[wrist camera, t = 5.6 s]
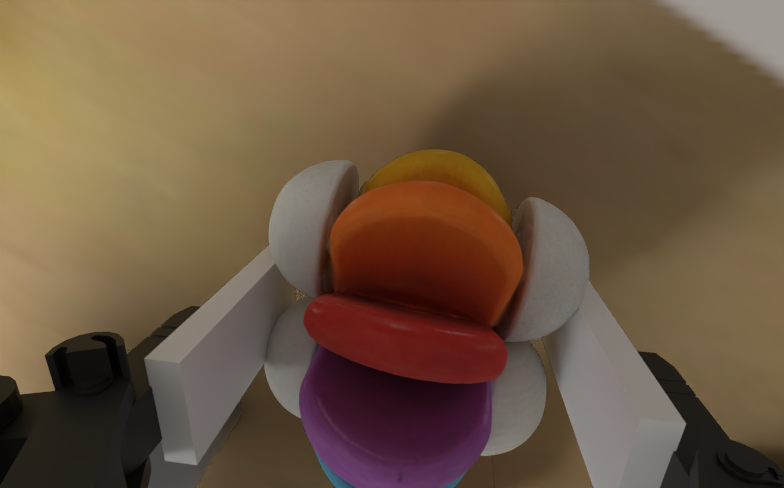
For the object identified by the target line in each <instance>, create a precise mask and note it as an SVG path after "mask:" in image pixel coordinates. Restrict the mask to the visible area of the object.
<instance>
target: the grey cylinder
mask: <svg viewBox="0 0 784 488" xmlns="http://www.w3.org/2000/svg"><path fill="white" fill-rule="evenodd" d="M240 414H241V402H240V401H239V402H238V404H237V405H236V407H235V408H234V410H233V412H232V413H231V415H230V416H229V418H228V419H227V421H226V422H225V424H224V425H223V427H222V428H221V430H220V431H219V433H218V434H217V436H216V437H215V439H214V440H213V442H212V443H211V445H210V446H209V448H208V449H207V451H206V453H205V454H204V456H203V457H202V459H201V460H200V462H199V463H198V465H191V464H184V463H178V462H171V461H165V458H164V453H163V449H162V444H161V441H160V443H159V444H158V445H157V446H156V448H155V449H154V450H153V451H152V453H151V454H150V455H149V457H150V462H151V475H150V480H149V484H148V488H195V487H196V486H197V484H198V483H199V481H200V480H201V478H202V476H203V475H204V473H205V472H206V470H207V469H208V467H209V465H210V464H211V462H212V461H213V459H214V458H215V456H216V455H217V453H218V451H219V450H220V448H221V447H222V445H223V444H224V442H225V440H226V439H227V437H228V436H229V434H230V433H231V431H232V429H233V428H234V426H235V425H236V423H237V422H238V420H239V418H240Z"/></svg>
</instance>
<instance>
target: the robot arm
mask: <svg viewBox="0 0 784 488" xmlns="http://www.w3.org/2000/svg"><path fill="white" fill-rule="evenodd" d="M294 303H296V293H295V287H294V286H292V285H291V284H290V283H289V282H288V281H287V280H286V278H285V277H284V276H283V275H282V274H281V272H280V270H279V269H278V267H277V265H276V263H275V261H274V259H273V256H272V253H271V250H270V245H268V246H267V247H266V248H265V249H264V250H263V251H262V252H261V253H260V254H258V255H257V256H256V257H255V258H254V259H253V260H252V261H251V262H250V263H249V264H248V265H246V266H245V267H244V268H243V269H242V270H241V271H240V272H239V273H238V274H237V275H235V276H234V277H233V278H232V279H231V280H230V281H229V282H228V283H227V284H226V285H224V286H223V287H222V288H221V289H220V290H219V291H218V292H217V293H216V294H215V295H213V296H212V297H211V298H210V299H209V300H208V301H207V302H206V303H205V304H204V305H202V306H201V307H196V306H191V307H189V308H187V309H185V310H182V311H180V312H178V313H176V314H174V315H173V316H172V317H170V318H169V319H168V320H167V321H166V322H165V323H163V324H162V325H161V328H157V329H156V330H155V331H154V332H153V333H152V334H151V336H150V337H147V338H146V339H145V340H143V341H142V342H141V343H140V344H139V345H137V346H136V347H135V348H134V349H133V350H132V351H130V352H129V353H128V354H126V349H125V345H124V340H123V338H122V337H121V336H119V335H118V334H115V333H111V332H94V333H89V334H84V335H79V336H77V337H74V338H71V339H68V340H66V341H64V342H62V343H60V344H59V345H57V346H55V347H53V348H52V349H51V350H50V351H49V352H48V353H47V354H46V355H45V358H46V361H47V364H48V367H49V371H50V374H51V377H52V381H53V384H54V387H55V391H51V392H41V393H32V394H22V395H20V393H19V390H18V387H17V384H16V381H15V380H13V379H12V378H11V377H9V376H1V375H0V488H148V484H149V480H150V475H151V462H150V457H149V455H150V454H151V453H152V451H153V450H154V449H155V448H156V446H157V445H158V444H159V443H160V441H161V444H162V449H163V453H164V458H165V461H171V462H178V463H184V464H191V465H198V463H199V462H200V460H201V459H202V457H203V456H204V454H205V453H206V451H207V449H208V448H209V446H210V445H211V443H212V442H213V440H214V439H215V437H216V436H217V434H218V433H219V431H220V430H221V428H222V427H223V425H224V424H225V422H226V421H227V419H228V418H229V416H230V415H231V413H232V412H233V410H234V408H235V407H236V405H237V404H238V402H239V401H240V399H241V398H242V396H243V395H244V393H245V392H246V390H247V389H248V387H249V386H250V384H251V383H252V381H253V380H254V378H255V377H256V375H257V374H258V372H259V371H260V369H261V367H262V366H263V364H264V363H265V361H266V352H267V346H268V342H269V338H270V335H271V332H272V330H273V327H274V325H275V323H276V322H277V320H278V318H279V317H280V316H281V315H282V314H283V313H284V312H285V311H286V310H287V309H288V308H289V307H290V306H291V305H293V304H294ZM542 341H543V344H544V346H545V349H546V352H547V355H548V358H549V361H550V364H551V367H552V370H553V372H554V375H555V378H556V381H557V384H558V387H559V390H560V393H561V396H562V398H563V401H564V404H565V407H566V410H567V413H568V416H569V419H570V422H571V425H572V427H573V430H574V433H575V436H576V439H577V442H578V445H579V448H580V451H581V453H582V456H583V459H584V462H585V465H586V468H587V471H588V474H589V477H590V479H591V482H592V485H593V488H784V472H783V471H782V470H781V469H780V468H779V467H778V466H777V465H776V464H775V463H774V462H773V461H771V460H770V459H768V458H767V457H765V456H764V455H762V454H761V453H759V452H758V451H756V450H754V449H752V448H750V447H748V446H746V445H743V444H741V443H739V442H735V441H732V440H730V439H729V437H728V436H727V435H726V433H725V432H724V431H723V430H722V428H721V427H720V426H719V424H718V423H717V422H716V420H715V419H714V418H713V417H712V415H711V414H710V413H709V411H708V410H707V409H706V407H705V406H704V405H703V404H702V402H701V401H700V400H699V398H696V397H695V393H694V392H693V391H692V389H691V388H690V387H689V385H686V382H685V380H684V379H683V378H682V376H681V375H680V374H679V372H678V371H677V370H676V369H675V367H674V366H672V365H671V364H670V363H668V362H667V361H665V360H664V359H663V358H661V357H660V356H659V355H657V354H656V353H649V352H639V351H637V350H636V349H635V348H634V346H633V345H632V343H631V342H630V340H629V339H628V337H627V336H626V334H625V333H624V331H623V330H622V328H621V327H620V325H619V324H618V323H617V321H616V320H615V318H614V317H613V315H612V314H611V312H610V311H609V309H608V308H607V306H606V305H605V303H604V302H603V300H602V299H601V298H600V296H599V295H598V293H597V292H596V290H595V289H594V287H593V286H592V284H591V283H590V281H589V280H588V284H587V288H586V292H585V295H584V298H583V300H582V302H581V304H580V306H579V308H578V309H577V311H576V312H575V313H574V315H573V316H572V317H571V318H570V319H569V320H568V321H567V322H566V323H565V324H564V325H563V326H561V327H560V328H558V329H557V330H555V331H553V332H552V333H550V334H548V335H546V336H543V338H542Z"/></svg>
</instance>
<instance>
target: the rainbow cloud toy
mask: <svg viewBox="0 0 784 488" xmlns="http://www.w3.org/2000/svg"><path fill="white" fill-rule="evenodd" d="M269 245H270V250H271V253H272V256H273V259H274V261H275V263H276V265H277V267H278V269H279V270H280V272H281V274H282V275H283V276H284V277H285V278H286V280H287V281H288V282H289V283H290V284H291V285H292V286H294V287H295V288H296V289H297V290H299V291H300V292H302V293H304V294H305V295H307V296H308V297H305V298H303V299H301V300H299V301H297V302H296V303H294V304H293V305H291V306H290V307H289V308H288V309H287V310H286V311H285V312H284V313H283V314H282V315H281V316H280V317H279V318H278V320H277V322H276V323H275V325H274V327H273V330H272V332H271V335H270V338H269V342H268V346H267V352H266V361H265V363H264V367H265V374H266V378H267V381H268V384H269V386H270V389H271V390H272V392H273V394H274V396H275V397H276V399H277V400H278V401H279V402H280V403H281V405H282V406H283V407H284V408H285V409H287V410H288V411H289V412H291V413H292V414H294V415H295V416H297V417H299V418H301V419H302V423H303V426H304V430H305V432H306V434H307V436H308V439H309V441H310V443H311V445H312V446H313V448H314V450H315V453H316V456H317V458H318V461H319V463H320V465H321V467H322V469H323V471H324V472H325V474H326V476H327V477H328V479H329V480H330V482H331V483H332V484H333V485H334V486H335V488H454V487H455V486H456V485H457V484H458V483H459V482H460V480H461V479H462V478H463V476H464V475H465V473H466V472H467V470H468V469H469V468H470V467H471V466H472V465H473V464H474V463H475V462H476V461H477V460H478V458H479V457H480V455H481V456H490V455H497V454H502V453H505V452H508V451H511V450H513V449H515V448H516V447H518V446H520V445H521V444H522V443H524V442H525V441H526V440H527V439H528V438H529V437H530V436H531V435H532V434H533V433H534V431H535V430H536V428H537V427H538V425H539V423H540V421H541V419H542V416H543V412H544V408H545V403H546V392H547V386H546V373H545V370H544V366H543V364H542V361H541V359H540V357H539V355H538V354H537V352H536V350H535V349H534V348H533V346H532V345H531V343H530V342H529V341H528V340H535V339H538V338H540V337H543V336H546V335H548V334H550V333H552V332H553V331H555V330H557V329H558V328H560V327H561V326H563V325H564V324H565V323H566V322H567V321H568V320H569V319H570V318H571V317H572V316H573V315H574V313H575V312H576V311H577V309H578V308H579V306H580V304H581V302H582V300H583V298H584V295H585V292H586V288H587V284H588V279H589V255H588V250H587V246H586V244H585V241H584V239H583V237H582V235H581V233H580V231H579V230H578V228H577V227H576V225H575V224H574V222H573V221H572V220H571V219H570V218H569V217H568V216H567V215H566V214H565V213H564V212H562V211H561V210H560V209H558V208H557V207H555V206H554V205H552V204H550V203H549V202H546V201H544V200H542V199H539V198H536V197H528V198H526V199H525V200H524V201H523V202H522V203H521V204H520V206H519V207H518V209H517V211H516V213H515V215H514V217H513V220H512V213H511V210H510V208H508V207H507V204H506V202H505V199H504V197H503V195H502V193H501V191H500V189H499V187H498V186H497V184H496V182H495V181H494V180H493V178H492V177H491V176H490V175H489V173H488V172H487V171H486V170H485V169H484V168H483V167H481V166H480V165H479V164H478V163H476V162H475V161H473V160H472V159H470V158H469V157H467V156H465V155H463V154H460V153H458V152H454V151H448V150H442V149H427V150H420V151H415V152H412V153H409V154H406V155H403V156H401V157H399V158H397V159H395V160H393V161H392V162H390V163H388V164H387V165H385V166H384V167H382V168H381V169H379V170H378V171H377V172H376V173H375V174H374V175H373V176H372V177H371V178H370V179H369V180H368V181H367V182H365V183H364V185H363V186H362V187H361V189H360V192H359V175H358V171H357V167H356V166H355V164H354V163H353V162H351V161H349V160H331V161H324V162H321V163H318V164H315V165H312V166H310V167H308V168H306V169H304V170H303V171H301V172H300V173H298V174H297V175H296V176H294V177H293V178H292V179H291V180H290V181H289V182H288V183H287V184H286V185H285V186H284V187H283V188H282V190H281V192H280V194H279V195H278V197H277V199H276V202H275V204H274V207H273V210H272V214H271V218H270V223H269Z"/></svg>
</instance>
